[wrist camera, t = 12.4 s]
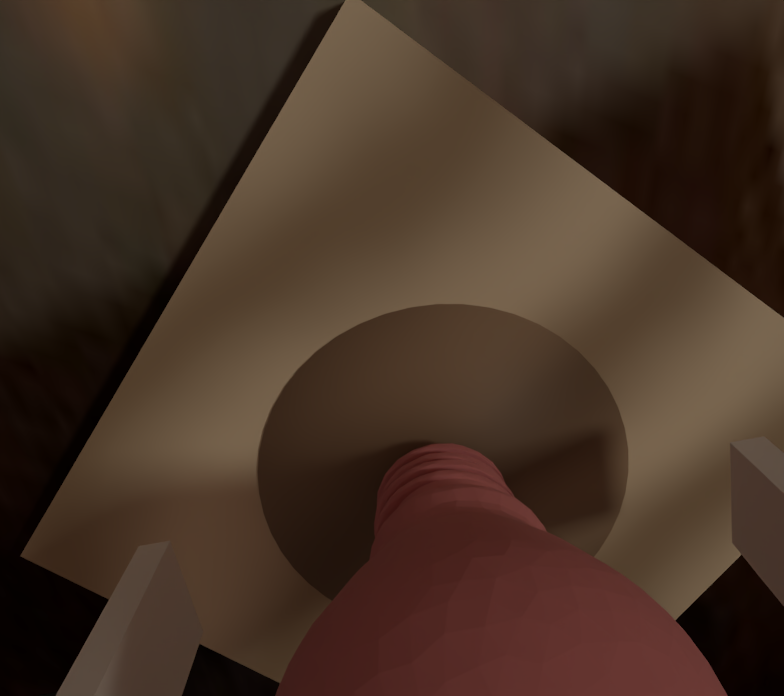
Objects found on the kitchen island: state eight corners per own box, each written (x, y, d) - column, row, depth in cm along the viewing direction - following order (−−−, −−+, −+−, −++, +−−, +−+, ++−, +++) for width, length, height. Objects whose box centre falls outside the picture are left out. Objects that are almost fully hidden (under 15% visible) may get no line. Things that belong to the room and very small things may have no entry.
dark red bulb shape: (501, 307, 16) (773, 757, 5) (620, 518, 18) (1002, 1171, 7) (261, 441, 17) (40, 1056, 6) (400, 626, 20) (426, 1334, 8)
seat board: (873, 390, 18) (896, 402, 17) (498, 769, 23) (502, 793, 22) (351, -2, 15) (350, -8, 14) (34, 538, 19) (19, 557, 18)
